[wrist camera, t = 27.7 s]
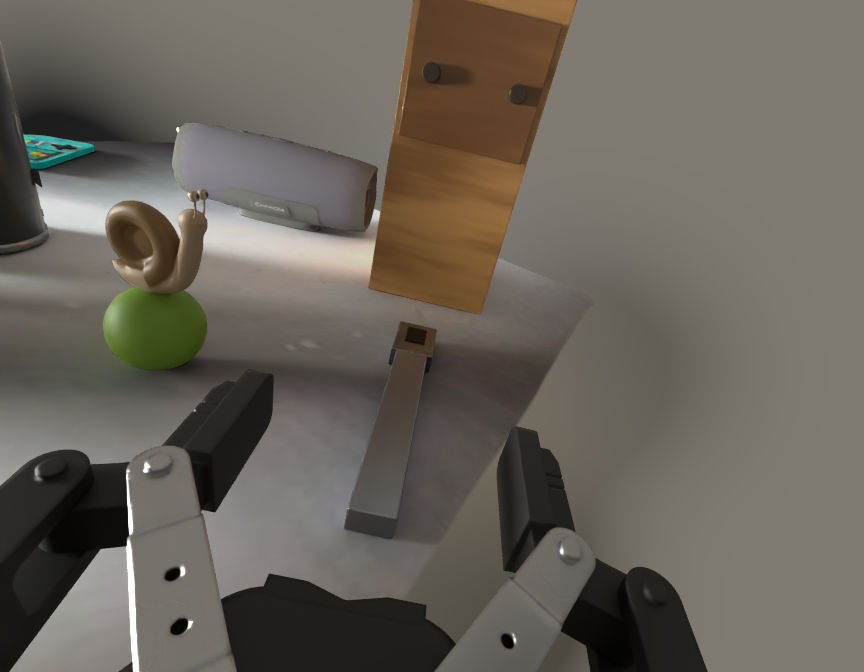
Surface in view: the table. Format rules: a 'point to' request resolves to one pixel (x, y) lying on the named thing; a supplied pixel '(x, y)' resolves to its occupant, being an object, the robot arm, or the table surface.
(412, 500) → the table surface
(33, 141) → the handheld gaming console
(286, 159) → the bluetooth speaker
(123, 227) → the snail figurine
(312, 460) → the table surface
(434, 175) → the zigzag wood box
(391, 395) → the bottle opener
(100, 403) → the table surface
